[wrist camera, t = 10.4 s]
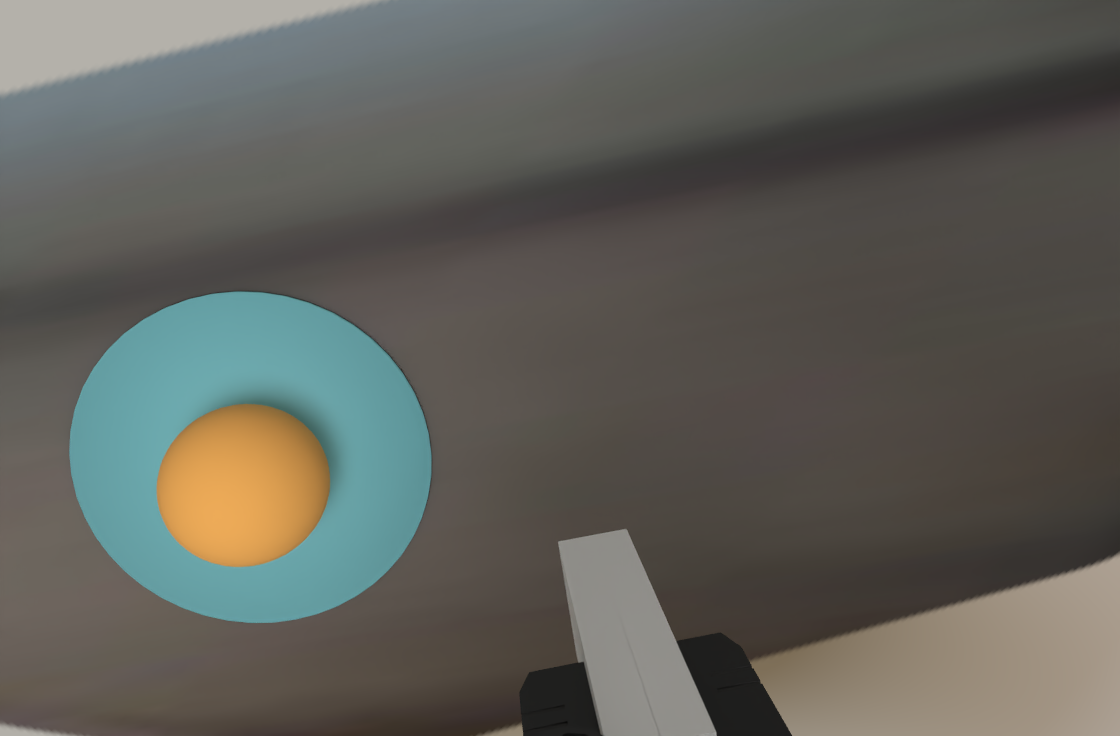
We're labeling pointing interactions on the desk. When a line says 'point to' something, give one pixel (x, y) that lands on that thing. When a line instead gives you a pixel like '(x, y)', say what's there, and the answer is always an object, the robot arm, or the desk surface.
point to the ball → (243, 485)
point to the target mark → (264, 379)
